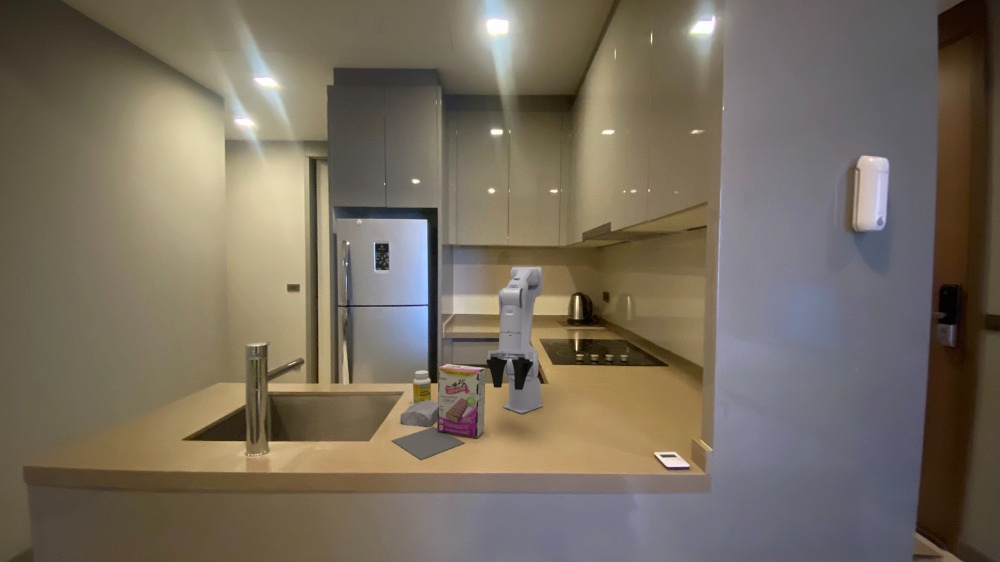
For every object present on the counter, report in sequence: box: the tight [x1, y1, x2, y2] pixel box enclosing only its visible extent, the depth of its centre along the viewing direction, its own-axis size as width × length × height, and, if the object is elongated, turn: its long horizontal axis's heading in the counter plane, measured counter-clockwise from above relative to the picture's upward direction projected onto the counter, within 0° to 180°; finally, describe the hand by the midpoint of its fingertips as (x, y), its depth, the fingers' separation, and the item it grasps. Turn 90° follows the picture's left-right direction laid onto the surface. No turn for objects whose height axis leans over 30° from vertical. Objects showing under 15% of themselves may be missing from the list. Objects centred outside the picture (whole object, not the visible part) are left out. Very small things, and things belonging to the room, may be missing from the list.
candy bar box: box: [436, 363, 487, 439], centre depth 100 cm, size 11×5×16 cm, turn 71°
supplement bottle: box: [412, 370, 432, 404], centre depth 122 cm, size 5×5×10 cm
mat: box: [391, 426, 466, 461], centre depth 95 cm, size 12×13×1 cm
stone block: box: [400, 399, 438, 428], centre depth 110 cm, size 12×5×10 cm
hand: (507, 388), depth 99 cm, fingers open, 7 cm apart
